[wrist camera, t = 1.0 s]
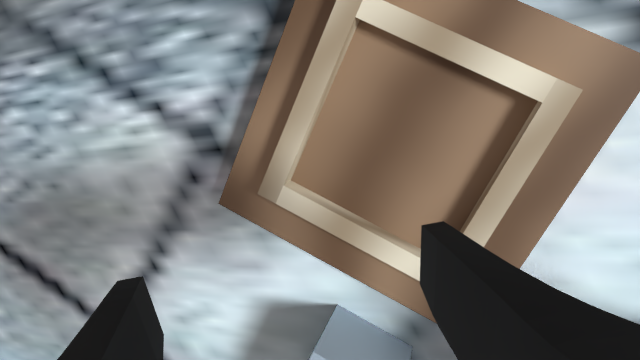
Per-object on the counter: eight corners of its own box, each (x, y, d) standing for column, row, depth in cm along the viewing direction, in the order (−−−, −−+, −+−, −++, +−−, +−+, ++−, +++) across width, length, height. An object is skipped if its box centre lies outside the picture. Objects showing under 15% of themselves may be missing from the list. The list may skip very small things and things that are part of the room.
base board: (645, 61, 19) (671, 61, 16) (469, 325, 23) (470, 354, 21) (335, -72, 21) (319, -89, 18) (231, 195, 25) (208, 209, 23)
